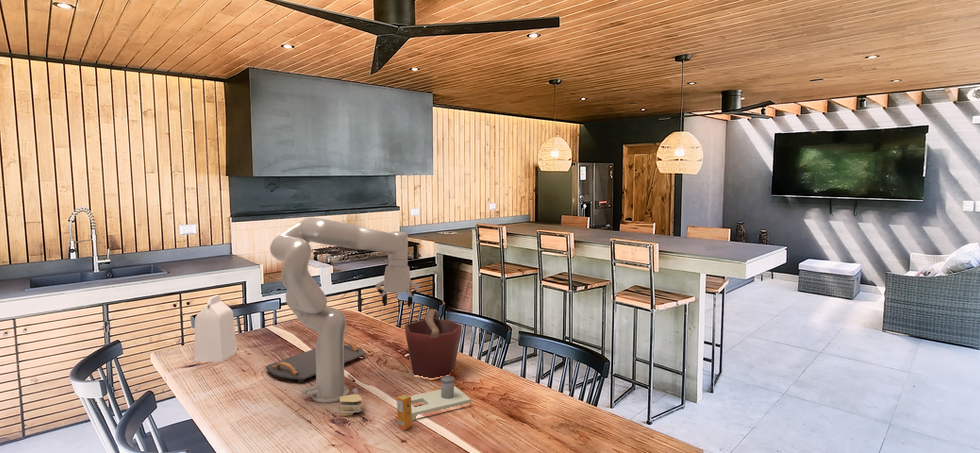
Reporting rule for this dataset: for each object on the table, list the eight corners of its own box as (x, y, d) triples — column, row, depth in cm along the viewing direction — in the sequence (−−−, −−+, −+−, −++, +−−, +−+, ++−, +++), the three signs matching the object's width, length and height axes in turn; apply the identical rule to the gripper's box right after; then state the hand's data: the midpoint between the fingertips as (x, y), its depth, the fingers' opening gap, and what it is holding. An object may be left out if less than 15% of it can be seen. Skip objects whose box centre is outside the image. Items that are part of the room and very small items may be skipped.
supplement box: (404, 423, 157) (404, 393, 156) (412, 427, 155) (412, 396, 154) (396, 427, 155) (396, 396, 154) (404, 431, 153) (404, 400, 152)
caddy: (410, 421, 159) (410, 394, 158) (397, 406, 169) (397, 381, 169) (470, 406, 170) (471, 381, 169) (455, 392, 180) (455, 369, 180)
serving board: (296, 388, 183) (296, 372, 182) (257, 375, 195) (257, 360, 194) (372, 357, 216) (371, 343, 215) (334, 347, 228) (334, 334, 227)
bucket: (449, 387, 185) (449, 321, 183) (393, 381, 190) (393, 317, 187) (465, 363, 209) (466, 305, 207) (415, 359, 214) (415, 301, 211)
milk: (221, 361, 207) (219, 300, 204) (194, 361, 207) (191, 299, 205) (237, 351, 219) (235, 293, 216) (211, 351, 219) (208, 293, 217)
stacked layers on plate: (335, 422, 158) (334, 406, 158) (335, 409, 167) (335, 394, 166) (367, 418, 161) (367, 402, 160) (366, 406, 169) (366, 391, 169)
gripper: (373, 263, 192) (373, 307, 194) (418, 265, 192) (417, 308, 193) (378, 260, 200) (378, 302, 201) (421, 262, 199) (420, 304, 201)
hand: (397, 305), depth 197 cm, fingers open, 9 cm apart
